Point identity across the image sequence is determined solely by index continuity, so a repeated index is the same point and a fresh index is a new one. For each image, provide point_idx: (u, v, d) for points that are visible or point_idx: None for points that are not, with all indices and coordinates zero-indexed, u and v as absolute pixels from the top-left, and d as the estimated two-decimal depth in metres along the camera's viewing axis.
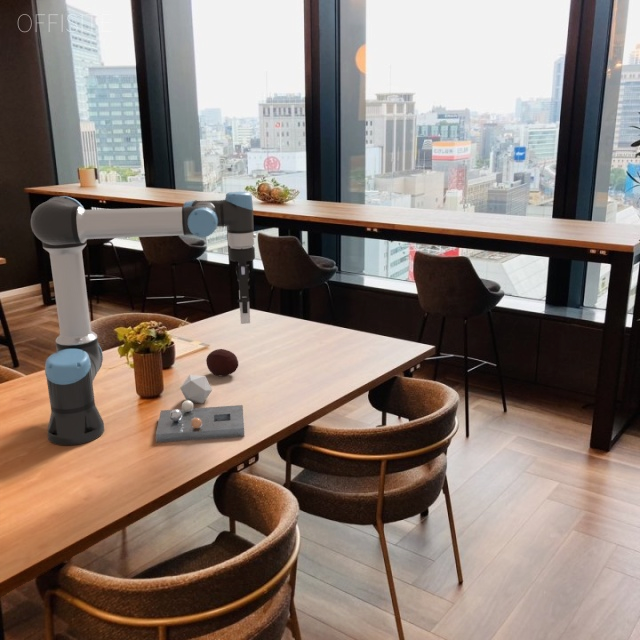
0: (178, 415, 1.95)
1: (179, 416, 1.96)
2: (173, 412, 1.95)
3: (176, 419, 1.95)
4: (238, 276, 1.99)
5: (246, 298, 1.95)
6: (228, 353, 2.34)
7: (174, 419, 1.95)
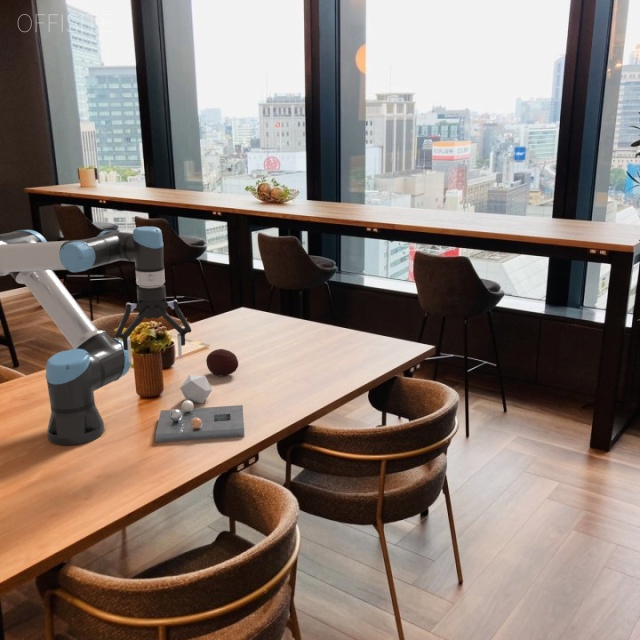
0: (178, 415, 1.95)
1: (179, 416, 1.96)
2: (173, 412, 1.95)
3: (176, 419, 1.95)
4: (139, 312, 1.90)
5: (116, 333, 1.88)
6: (228, 353, 2.34)
7: (174, 419, 1.95)
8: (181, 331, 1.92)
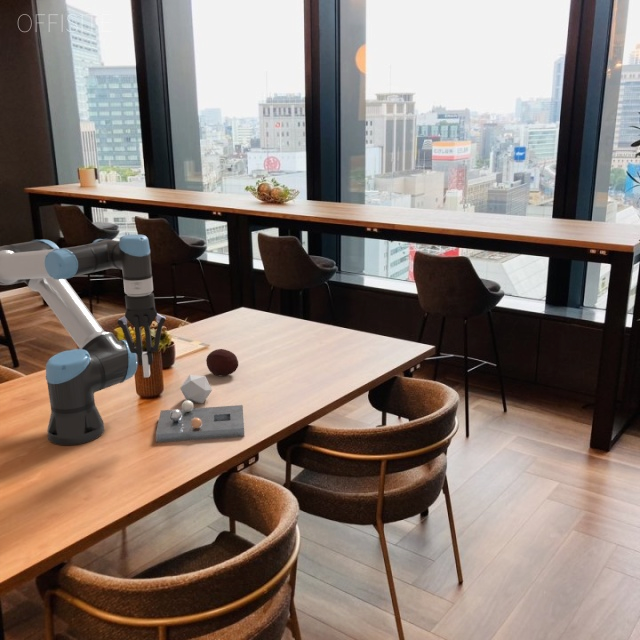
0: (178, 415, 1.95)
1: (179, 416, 1.96)
2: (173, 412, 1.95)
3: (176, 419, 1.95)
4: None
5: None
6: (228, 353, 2.34)
7: (174, 419, 1.95)
8: (149, 350, 1.89)
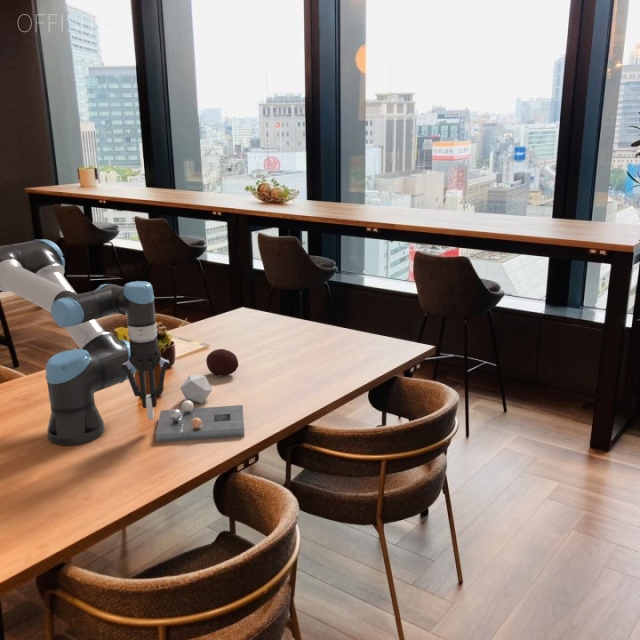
0: (178, 415, 1.95)
1: (179, 416, 1.96)
2: (173, 412, 1.95)
3: (176, 419, 1.95)
4: None
5: None
6: (228, 353, 2.34)
7: (174, 419, 1.95)
8: (153, 393, 1.93)
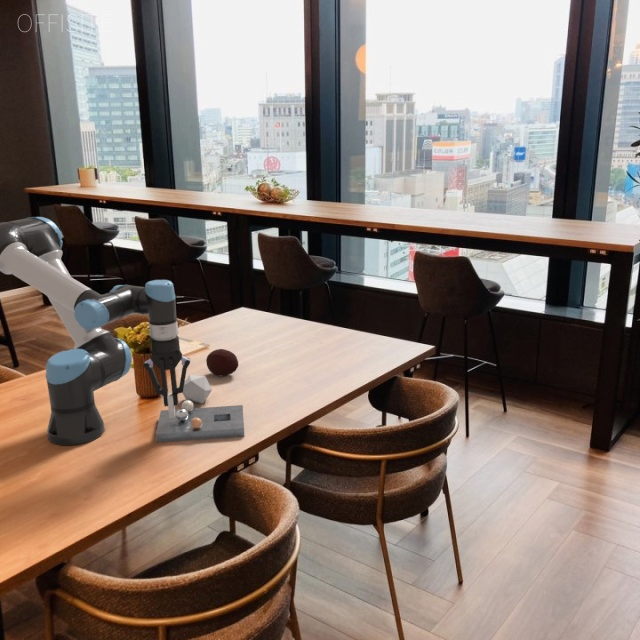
0: (185, 418, 1.96)
1: (184, 419, 1.96)
2: (184, 412, 1.96)
3: (180, 419, 1.95)
4: None
5: None
6: (228, 353, 2.34)
7: (179, 417, 1.95)
8: (174, 391, 1.93)
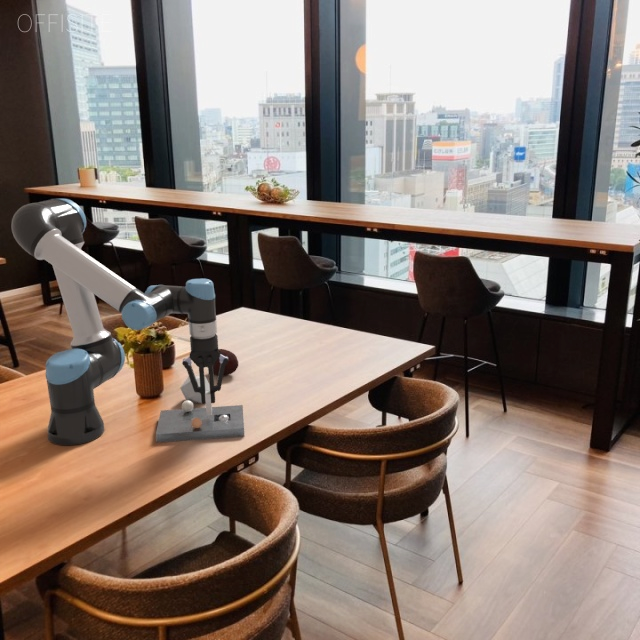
0: None
1: None
2: None
3: None
4: None
5: None
6: (228, 353, 2.34)
7: (223, 420, 1.97)
8: (212, 389, 1.94)
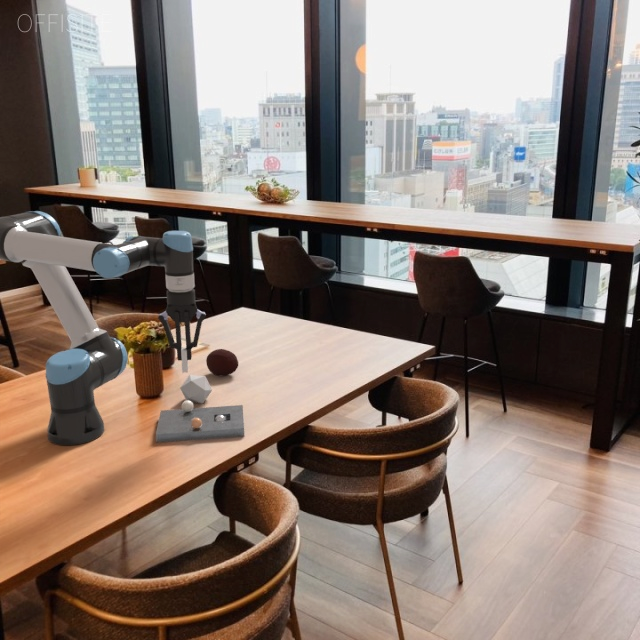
0: None
1: None
2: None
3: None
4: None
5: None
6: (228, 353, 2.34)
7: None
8: (188, 345, 1.90)
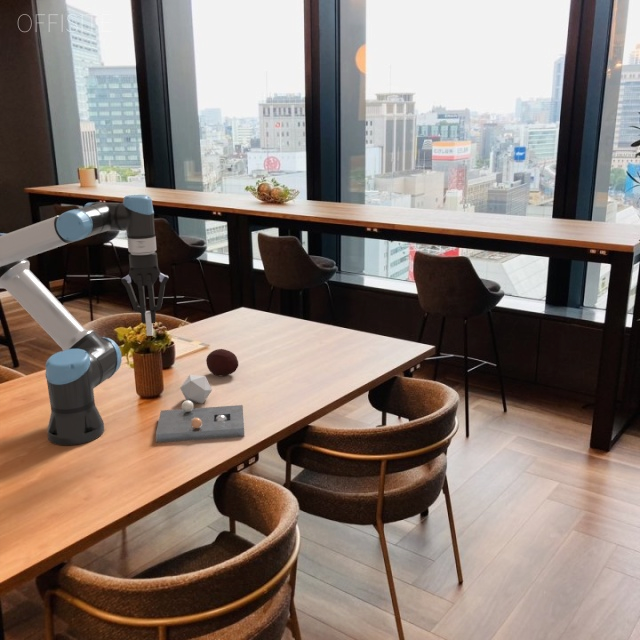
0: None
1: None
2: None
3: None
4: None
5: None
6: (228, 353, 2.34)
7: None
8: (152, 308, 1.93)
